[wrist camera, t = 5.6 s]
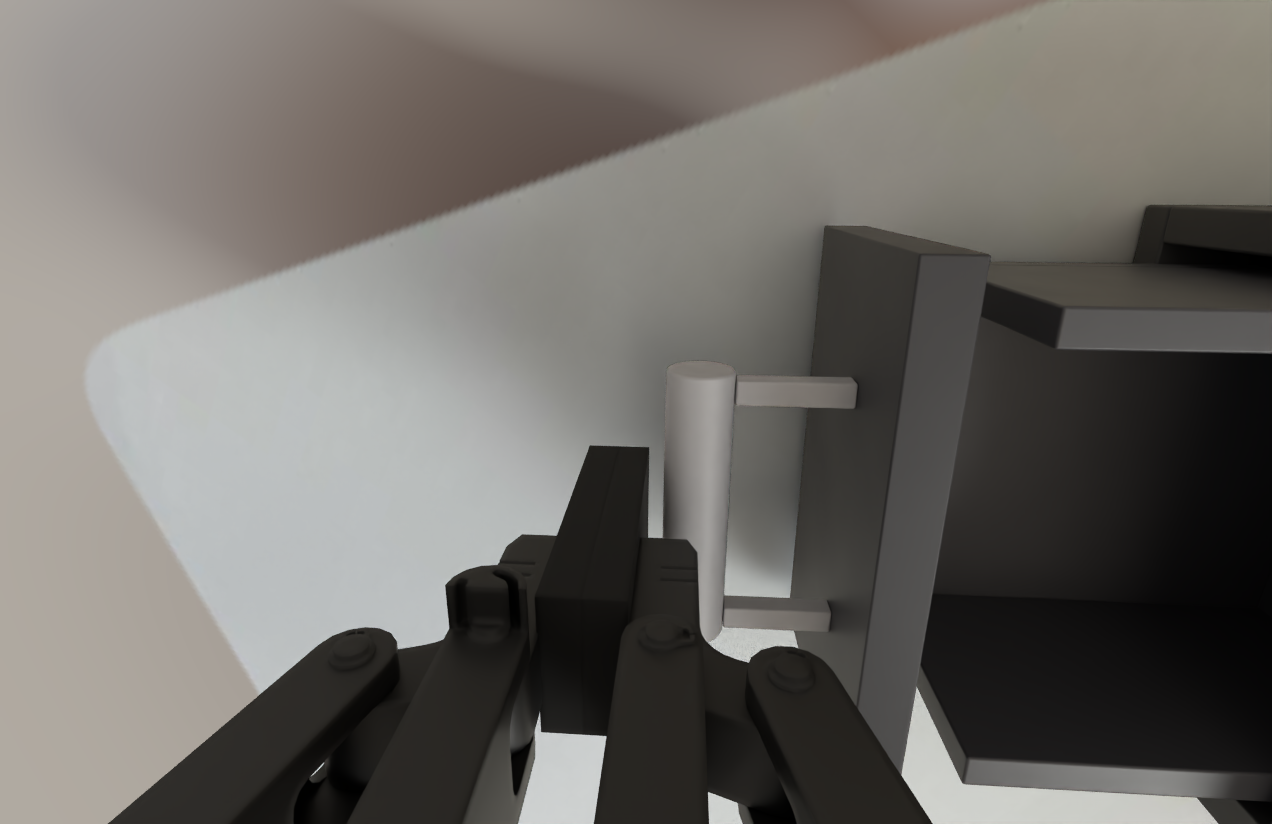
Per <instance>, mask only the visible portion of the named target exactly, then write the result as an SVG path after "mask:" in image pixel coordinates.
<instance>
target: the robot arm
mask: <svg viewBox="0 0 1272 824" xmlns="http://www.w3.org/2000/svg"><path fill="white" fill-rule="evenodd" d="M648 488H649V447H619V446H590V447H589V449H588V452H587V455H586V458H585V460H584V463H583V466H582V469H581V471H580V474H579V477H578V480H577V482H576V485H575V488H574V490H573V493H572V496H571V499H570V501H569V504H568V507H567V510H566V512H565V515H564V518H563V521H562V523H561V526H560V529H559V532H558V534H557V536H548V535H524V534H522V535H521V536H520V537H518V538H517V539H516V540H515V541H513V542H512V543H511V544H509V545H508V546H507V547H506V549H505V551H504V553H503V555H502V557H501V559H500V563H498V565H491V566H480V567H476V568H472V569H468V570H465V571H463V572H462V573H460V574H458V575H456V576H454V577H453V578H452V579H451V580H450V581H449V582H448V583H447V584H446V585H445V587H446V598H447V608H448V618H449V628H450V629H449V630H448V632H447V634H446V636H445V638H444V640H441V641H439V642H435V643H431V644H427V645H422V646H416V647H410V648H404V649H398V648H397V641H396V640H395V638H394V637H393V636H392V634H391V633H389V632H387V631H384V630H382V629H379V628H366V627H365V628H358V629H352V630H347V631H345V632H342V633H339V634H337V635H334V636H332V637H330V638H329V639H327V640H326V641H324V642H322V643H321V644H319V645H318V646H317V647H316V648H314V649H313V650H312V651H311V652H310V653H309V654H307V655H306V656H305V657H304V658H303V659H301V660H300V661H299V662H298V663H297V664H296V665H294V666H293V667H292V668H291V669H290V670H289V671H287V672H286V673H285V674H284V675H283V676H281V677H280V678H279V679H278V680H277V681H276V682H274V683H273V684H272V685H271V686H270V687H268V688H267V689H266V690H265V691H264V692H263V693H261V694H260V695H259V696H258V697H257V698H256V699H254V700H253V701H252V702H251V703H250V704H248V705H247V706H246V707H245V708H244V709H243V710H241V711H240V712H239V713H238V714H237V715H236V716H234V717H233V718H232V719H231V720H230V721H229V722H227V723H226V724H225V725H224V726H223V727H221V728H220V729H219V730H218V731H217V732H215V733H214V734H213V735H212V736H211V737H210V738H208V739H207V740H206V741H205V742H204V743H202V744H201V745H200V746H199V747H198V748H197V749H196V750H194V751H193V752H192V753H191V754H190V755H188V756H187V757H186V758H185V759H184V760H183V761H181V762H180V763H179V764H178V765H177V766H176V767H174V768H173V769H172V770H171V771H170V772H168V773H167V774H166V775H165V776H164V777H162V778H161V779H160V780H159V781H158V782H157V783H155V784H154V785H153V786H152V787H151V788H150V789H148V790H147V791H146V792H145V793H144V794H143V795H141V796H140V797H139V798H138V799H137V800H135V801H134V802H133V803H132V804H131V805H130V806H128V807H127V808H126V809H125V810H124V811H122V812H121V813H120V814H119V815H118V816H117V817H115V818H114V819H113V820H112V821H111V822H109V823H108V824H518V821H519V817H520V814H521V810H522V806H523V802H524V798H525V794H526V790H527V787H528V783H529V779H530V775H531V771H532V767H533V763H534V759H535V732H534V731H535V727H536V724H537V720H538V716H539V713H540V717H541V732H549V733H566V734H582V735H599V736H607V738H606V745H605V752H604V758H603V765H602V772H601V779H600V786H599V793H598V799H597V806H596V813H595V820H594V824H709V813H708V792H710V793H713V794H716V795H718V796H721V797H724V798H726V799H729V800H732V801H734V802H737V803H738V808H739V814H740V817H741V820H742V823H743V824H932V822H931V821H930V819H929V817H928V816H927V814H926V813H925V811H924V810H923V808H922V807H921V805H920V804H919V802H918V801H917V799H916V797H915V796H914V794H913V793H912V791H911V790H910V788H909V787H908V785H907V784H906V782H905V781H904V779H903V777H902V776H901V774H900V773H899V771H898V770H897V768H896V767H895V765H894V764H893V762H892V761H891V759H890V757H889V756H888V754H887V753H886V751H885V750H884V748H883V747H882V745H881V744H880V742H879V741H878V739H877V737H876V736H875V734H874V733H873V731H872V730H871V728H870V727H869V725H868V724H867V722H866V721H865V719H864V717H863V716H862V714H861V713H860V711H859V710H858V708H857V707H856V705H855V704H854V702H853V701H852V699H851V697H850V696H849V694H848V693H847V691H846V690H845V688H844V687H843V685H842V684H841V682H840V681H839V679H838V677H837V676H836V674H835V673H834V671H833V670H832V669H831V668H830V667H829V666H828V665H827V664H826V662H825V661H824V660H823V659H821V658H819V657H818V656H816V655H814V654H812V653H810V652H809V651H806V650H802V649H798V648H795V647H783V646H775V647H771V648H767V649H763V650H761V651H759V652H758V653H757V654H755V655H754V656H753V657H751V660H750V662H749V663H747V662H744V661H740V660H737V659H734V658H731V657H729V656H726V655H724V654H722V653H720V652H719V651H717V650H715V649H714V648H713V647H712V646H710V645H709V644H708V643H707V642H706V640H705V639H704V637H703V635H702V633H701V629H700V612H699V582H698V553H697V551H696V550H695V549H694V548H693V546H692V545H691V544H690V542H689V541H688V540H687V539H664V538H648ZM323 762H324V765H323V766H322V767H321V768H320V769H319V770H318V771H317V772H316V773H315V774H314V775H312V774H313V773H314V772H315V771H316V770H317V769H318V768H319V767H320V766H321V764H322V763H323ZM311 775H312V776H311ZM310 776H311V777H310ZM309 777H310V778H309Z"/></svg>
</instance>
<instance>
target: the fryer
mask: <svg viewBox="0 0 1272 824" xmlns="http://www.w3.org/2000/svg"><path fill="white" fill-rule="evenodd" d="M1133 264H1211V265H1272V206H1244V205H1150V206H1148V207H1147V210H1146V214H1145V218H1144V222H1143V226H1142V230H1141V234H1140V239H1139V243H1138V247H1137V251H1136V255H1135V259H1134V263H1133ZM1197 799H1198V800H1199V801H1200V802H1201V803H1202V804H1203V806H1204V807H1205V808H1206V809H1207V810H1208V812H1209V813H1210V814H1211V815H1212V816H1213V818H1214V819H1215V820H1216V821H1217V822H1218V824H1272V802H1267V801H1250V800H1232V799H1215V798H1197Z"/></svg>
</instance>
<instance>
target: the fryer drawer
mask: <svg viewBox="0 0 1272 824" xmlns="http://www.w3.org/2000/svg"><path fill="white" fill-rule="evenodd" d="M990 259H991V255H989V254H986V253H982V252H977V251H973V250H968V249H964V248H960V247H955V246H951V245H946V244H942V243H938V242H933V241H929V240H925V239H920V238H916V237H911V236H907V235H903V234H898V233H894V232H889V231H885V230H881V229H876V228H872V227H868V226H825V228H824V238H823V249H822V260H821V271H820V281H819V292H818V303H817V314H816V324H815V335H814V346H813V357H812V367H811V377H810V376H765V375H736V371H735V369H734V368H733V367H731V366H729V365H726V364H723V363H718V362H712V361H684V362H679V363H675V364H672V365H670V366H669V367H668V368H667V370H666V401H665V451H664V500H663V538H664V539H687V540H688V541H689V542H690V544H691V545H692V546H693V548H694V549H695V550H696V551H697V553H698V582H699V612H700V629H701V633H702V635H703V637H704V639H705V640H706V642H710V641H712V640H714V639H715V638H716V637H717V636H718V635H719V634H720V632H721V630H722V621H723V626H724V627H728V628H750V629H773V630H794V633H795V636H796V640H797V644H798V648H799V649H802V650H806V651H809V652H810V653H812V654H814V655H816V656H818V657H819V658H821V659H823V660H824V661H825V662H826V664H827V665H828V666H829V667H830V668H831V669H832V670H833V671H834V673H835V674H836V676H837V677H838V679H839V681H840V682H841V684H842V685H843V687H844V688H845V690H846V691H847V693H848V694H849V696H850V697H851V699H852V701H853V702H854V704H855V705H856V707H857V708H858V710H859V711H860V713H861V714H862V716H863V717H864V719H865V721H866V722H867V724H868V725H869V727H870V728H871V730H872V731H873V733H874V734H875V736H876V737H877V739H878V741H879V742H880V744H881V745H882V747H883V748H884V750H885V751H886V753H887V754H888V756H889V757H890V759H891V761H892V762H893V764H894V765H895V767H896V768H897V770H898V771H899V773H900V774H901V773H902V767H903V761H904V756H905V750H906V744H907V738H908V733H909V727H910V721H911V715H912V709H913V704H914V698H915V692H916V686H917V688H918V690H919V692H920V694H921V696H922V698H923V701H924V703H925V705H926V707H927V709H928V711H929V713H930V715H931V718H932V720H933V722H934V724H935V726H936V728H937V730H938V733H939V735H940V737H941V739H942V741H943V743H944V745H945V748H946V750H947V752H948V754H949V756H950V758H951V760H952V762H953V765H954V767H955V769H956V771H957V773H958V775H959V777H960V780H961V782H962V783H963V784H970V785H987V786H1005V787H1022V788H1040V789H1057V790H1075V791H1092V792H1110V793H1127V794H1145V795H1162V796H1180V797H1197V798H1215V799H1232V800H1250V801H1267V802H1272V265H1211V264H1126V263H1042V262H990ZM734 404H736V405H737V406H763V407H803V408H808V411H807V421H806V432H805V443H804V454H803V464H802V475H801V486H800V497H799V507H798V518H797V529H796V540H795V550H794V561H793V572H792V583H791V593H790V598H773V597H749V596H724V584H725V566H726V548H727V530H728V512H729V494H730V476H731V458H732V440H733V422H734Z"/></svg>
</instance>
